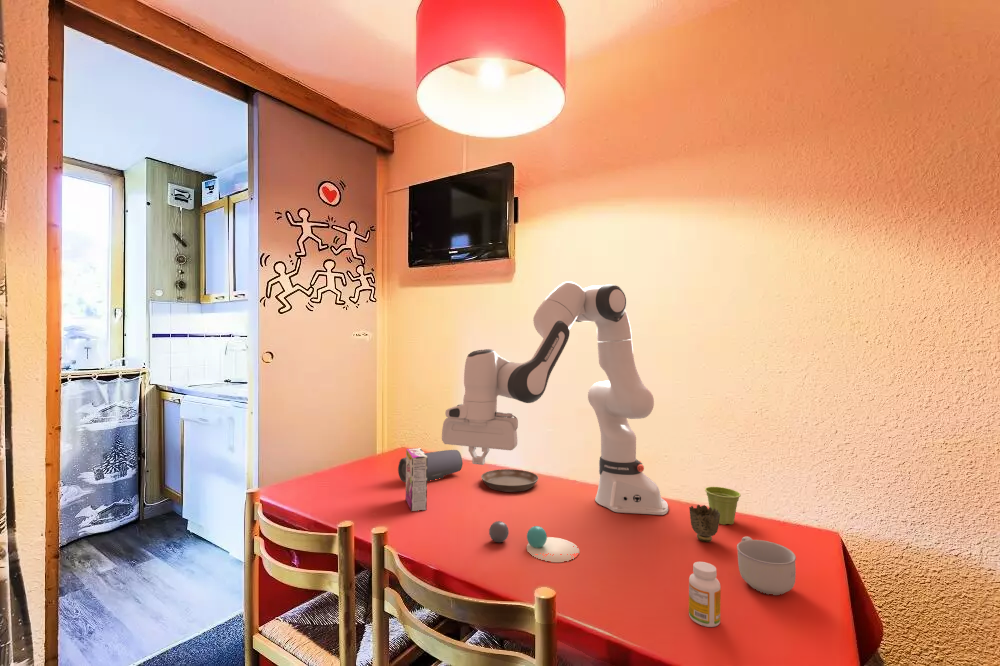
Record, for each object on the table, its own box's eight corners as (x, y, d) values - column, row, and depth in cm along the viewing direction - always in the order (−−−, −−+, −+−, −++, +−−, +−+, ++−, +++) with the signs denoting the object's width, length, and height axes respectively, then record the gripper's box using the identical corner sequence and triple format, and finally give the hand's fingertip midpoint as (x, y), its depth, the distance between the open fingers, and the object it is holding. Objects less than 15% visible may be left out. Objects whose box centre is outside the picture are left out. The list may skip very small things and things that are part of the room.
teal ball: (526, 536, 114) (543, 546, 112) (521, 544, 109) (540, 555, 108) (533, 519, 113) (551, 529, 112) (529, 526, 109) (547, 537, 107)
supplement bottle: (711, 610, 85) (711, 559, 86) (726, 628, 80) (726, 573, 80) (683, 610, 85) (684, 559, 85) (697, 628, 80) (697, 573, 80)
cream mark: (582, 542, 114) (582, 541, 114) (575, 566, 101) (575, 565, 101) (533, 534, 117) (533, 534, 117) (520, 557, 105) (520, 556, 105)
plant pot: (709, 512, 136) (709, 484, 136) (743, 520, 130) (743, 491, 130) (700, 521, 129) (701, 491, 129) (736, 530, 123) (736, 499, 123)
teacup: (805, 605, 88) (805, 564, 88) (746, 598, 90) (746, 558, 90) (776, 570, 101) (776, 535, 102) (725, 564, 104) (726, 530, 104)
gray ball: (496, 515, 116) (491, 532, 116) (488, 522, 111) (484, 540, 112) (513, 522, 114) (508, 540, 115) (506, 531, 110) (501, 549, 110)
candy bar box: (404, 499, 141) (405, 448, 142) (419, 498, 143) (421, 447, 144) (410, 512, 131) (412, 457, 131) (427, 510, 133) (428, 455, 133)
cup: (702, 547, 112) (702, 516, 112) (682, 535, 119) (683, 505, 119) (726, 545, 114) (726, 513, 114) (706, 533, 121) (706, 503, 121)
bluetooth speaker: (449, 471, 174) (450, 446, 174) (463, 477, 167) (463, 450, 167) (396, 482, 159) (397, 454, 160) (409, 488, 152) (409, 459, 153)
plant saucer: (480, 476, 169) (480, 468, 169) (534, 476, 170) (534, 468, 170) (481, 495, 148) (481, 485, 148) (542, 495, 150) (542, 485, 150)
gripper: (521, 412, 116) (519, 464, 116) (449, 407, 122) (448, 457, 122) (514, 415, 110) (513, 471, 110) (439, 410, 116) (438, 462, 116)
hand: (478, 463), depth 116 cm, fingers closed
